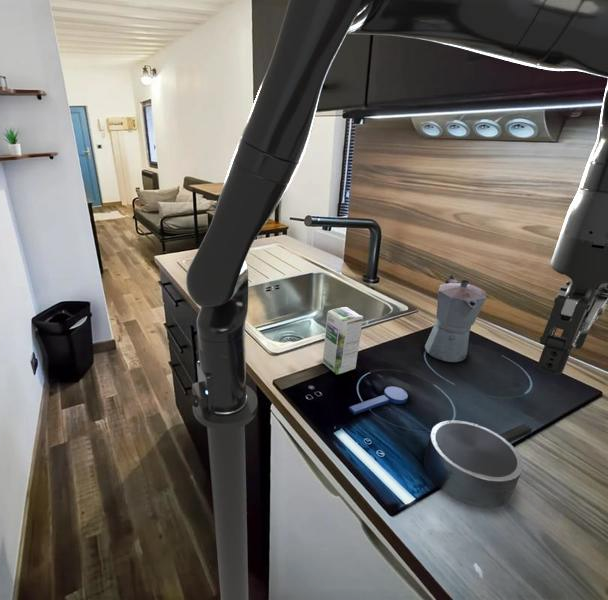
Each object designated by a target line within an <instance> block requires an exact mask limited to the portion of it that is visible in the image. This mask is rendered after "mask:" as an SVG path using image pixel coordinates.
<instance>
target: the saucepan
mask: <svg viewBox="0 0 608 600" xmlns="http://www.w3.org/2000/svg"><path fill="white" fill-rule="evenodd" d="M532 431H533V428H532V427H530V426H528V425H527V424H526V423H521V424H519V425H517V426H514V427H512V428H509V429H507V430H505V431H503V432H501V433H497V432H495V431H493V430H492V429H489V428H487V427H485V426H482V425H480V424H477V423H473V422H470V421H464V420H454V419H453V420H444V421H440V422H439V423H436V424H435V425H434V426H433V427H432V429H431V431H430V435H429V437H428V441H427V445H426V449H425V453H424V457H423V467H424V470H425V471H426V474H427V476H428V477H429V479H430V481H432V482H433V484H434V485H436V486H437V488H438V489H439V490H441V491H442V492H444V493H445V494H446V495H448V496H450V497H451V498H453V499H455V500H457V501H458V502H460V503H463V504H465V505H468V506H471V507H474V508H478V509H479V508H480V509H497V508H502V507H503V506H505V505H506V504H508V503H509V501H510V499H511V497H512V495H513V493H514V491H515V488H516V486H517V484H518V481H519V480H520V477H521V475H522V473H523V470H524V462H523V459H522V457H521V455H520V453H519V452H518V450H517V449H516V448H515V447H514V446H513V445H512V444H511V443H512V442H515V441H516V440H519V439H521V438H523V437H525V436H527V435H530V434H531V433H532Z"/></svg>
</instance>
